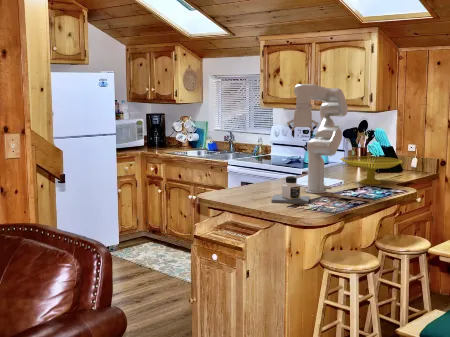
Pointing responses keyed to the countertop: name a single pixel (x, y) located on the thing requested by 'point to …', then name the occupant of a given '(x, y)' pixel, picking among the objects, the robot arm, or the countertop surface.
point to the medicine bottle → (291, 188)
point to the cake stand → (371, 166)
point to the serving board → (283, 200)
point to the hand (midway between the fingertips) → (302, 137)
